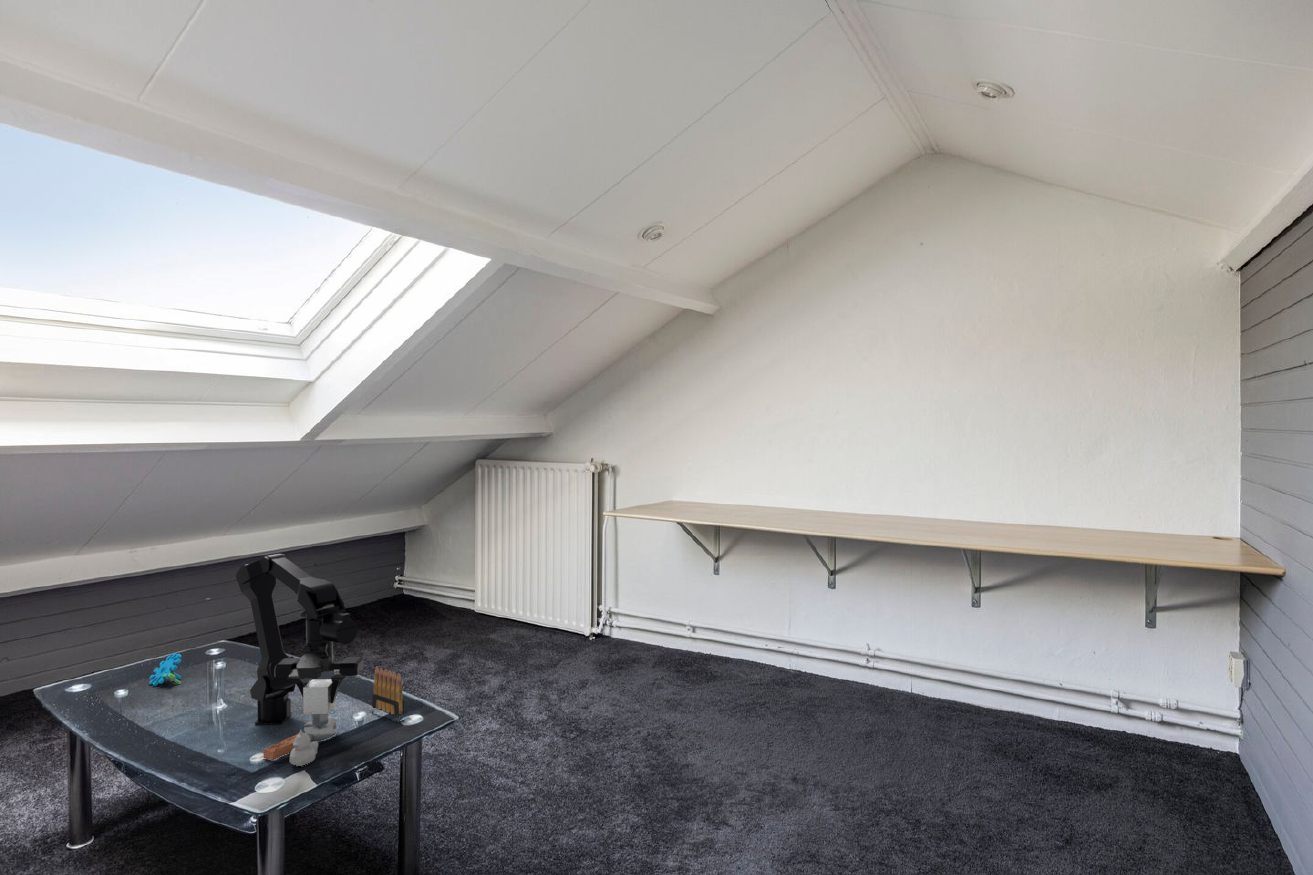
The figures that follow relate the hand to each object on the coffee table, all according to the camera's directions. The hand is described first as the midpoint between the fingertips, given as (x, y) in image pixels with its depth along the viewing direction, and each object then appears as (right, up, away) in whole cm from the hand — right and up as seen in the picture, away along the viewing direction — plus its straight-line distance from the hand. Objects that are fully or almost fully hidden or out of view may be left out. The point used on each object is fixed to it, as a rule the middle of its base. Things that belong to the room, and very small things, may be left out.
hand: (319, 703), depth 182 cm
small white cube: (0, -2, 0) cm, 2 cm away
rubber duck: (+3, -9, -14) cm, 17 cm away
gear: (-59, -7, +36) cm, 69 cm away
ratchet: (-2, -8, -5) cm, 10 cm away
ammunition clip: (+12, -8, +12) cm, 19 cm away
